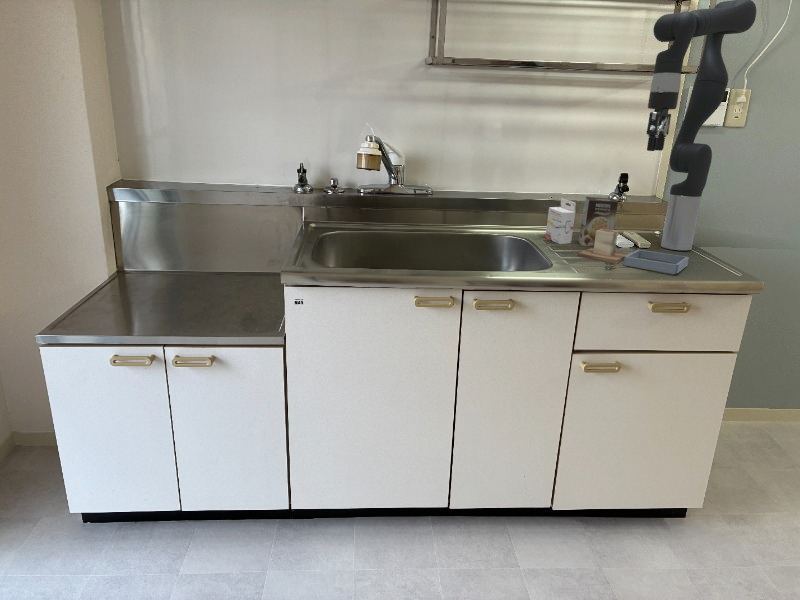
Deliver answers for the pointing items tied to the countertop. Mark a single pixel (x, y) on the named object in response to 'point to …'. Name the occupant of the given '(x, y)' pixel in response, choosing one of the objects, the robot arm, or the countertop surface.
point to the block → (605, 242)
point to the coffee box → (596, 218)
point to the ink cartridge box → (561, 222)
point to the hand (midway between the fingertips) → (654, 150)
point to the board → (603, 256)
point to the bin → (655, 265)
